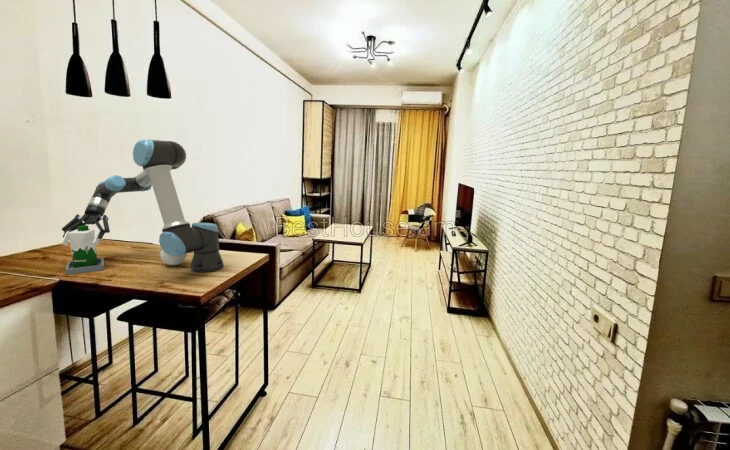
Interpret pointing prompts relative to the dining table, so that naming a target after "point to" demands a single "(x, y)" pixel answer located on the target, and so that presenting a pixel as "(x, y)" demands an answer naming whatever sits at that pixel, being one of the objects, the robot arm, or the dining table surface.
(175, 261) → the decorative ball
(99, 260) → the holder tray
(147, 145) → the robot arm
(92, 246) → the soya milk
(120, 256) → the dining table surface
